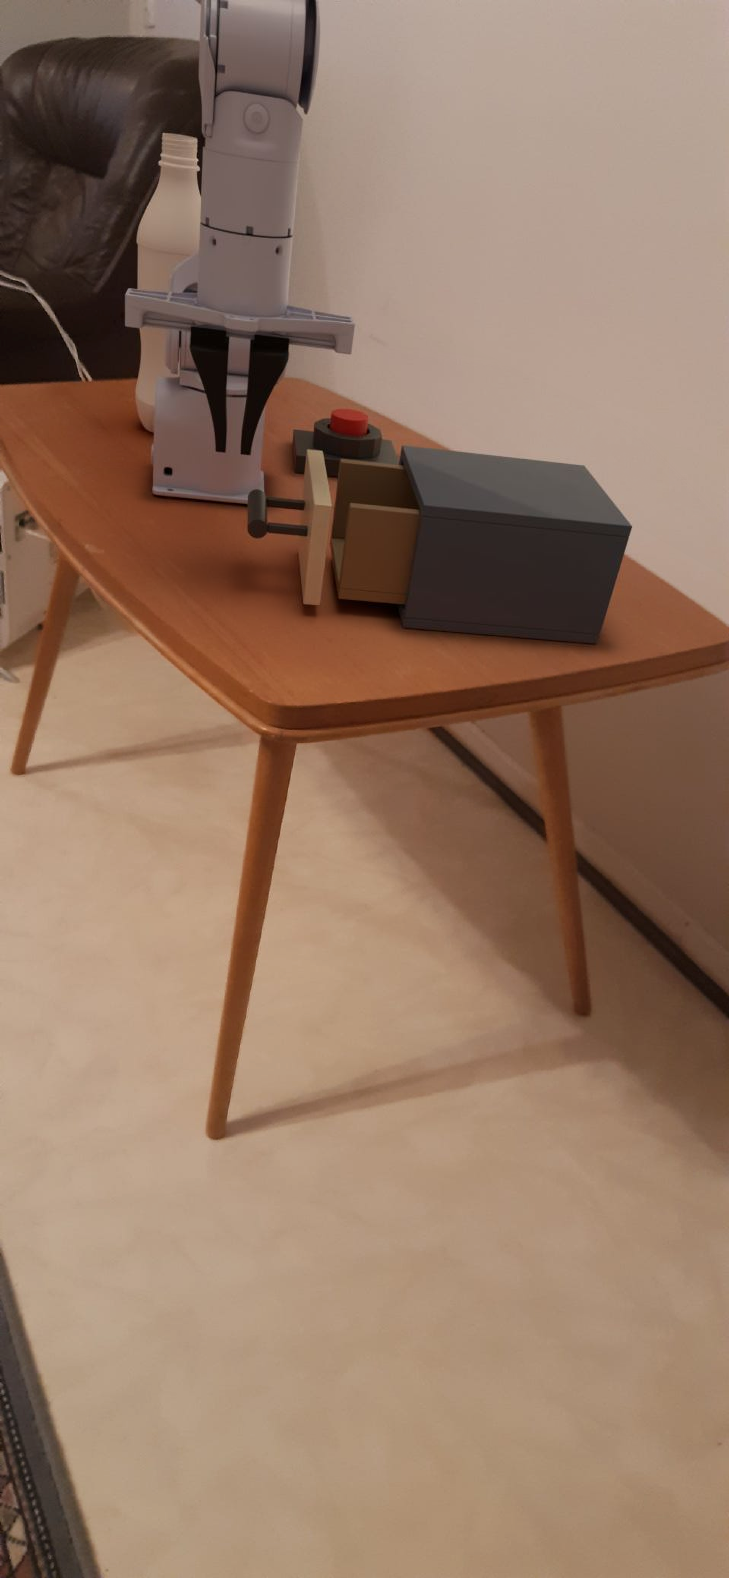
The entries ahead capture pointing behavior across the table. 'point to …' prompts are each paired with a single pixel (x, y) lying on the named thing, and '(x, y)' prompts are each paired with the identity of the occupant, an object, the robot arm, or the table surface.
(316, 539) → the drawer
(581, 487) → the cabinet
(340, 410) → the button
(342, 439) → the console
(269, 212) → the robot arm
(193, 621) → the table surface
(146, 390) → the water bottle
